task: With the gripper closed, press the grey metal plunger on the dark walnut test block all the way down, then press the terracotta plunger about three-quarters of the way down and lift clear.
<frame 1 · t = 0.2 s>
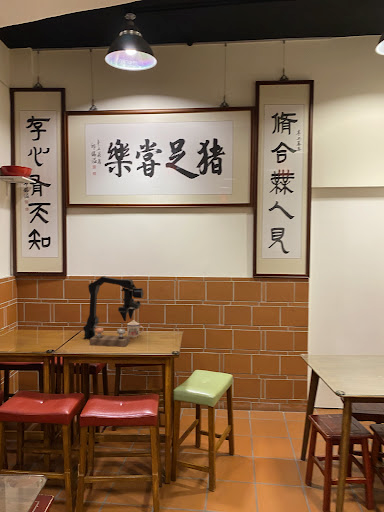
hand: (127, 319, 275), 14 cm above the table, tool pointing down, fingers open, 9 cm apart
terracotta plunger: (99, 333, 266), point 7 cm above the table, slide at 0.0 cm
press block: (110, 343, 266), on the table
grey plunger: (121, 334, 265), point 7 cm above the table, slide at 0.0 cm
teacup with lid: (135, 336, 288), on the table
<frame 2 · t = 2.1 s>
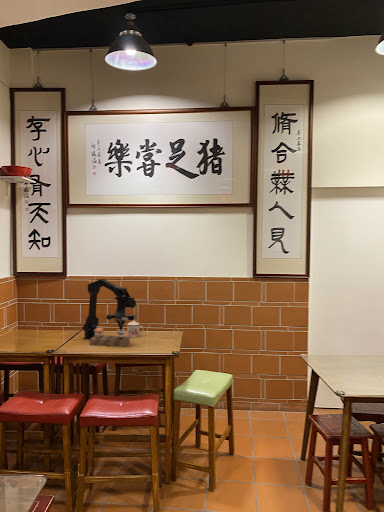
hand: (121, 329, 264), 10 cm above the table, tool pointing down, fingers closed, pressing on grey plunger
grey plunger: (121, 334, 265), point 6 cm above the table, slide at 0.3 cm, touching gripper
everything else where it was.
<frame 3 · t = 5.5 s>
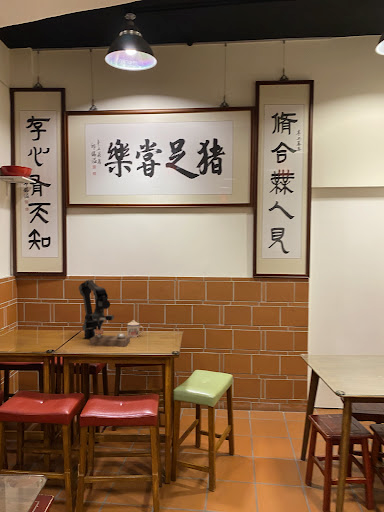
hand: (99, 329, 266), 9 cm above the table, tool pointing down, fingers closed, pressing on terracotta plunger
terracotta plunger: (99, 334, 266), point 6 cm above the table, slide at 1.0 cm, touching gripper
grey plunger: (120, 339, 265), point 3 cm above the table, slide at 3.3 cm
everything else where it was.
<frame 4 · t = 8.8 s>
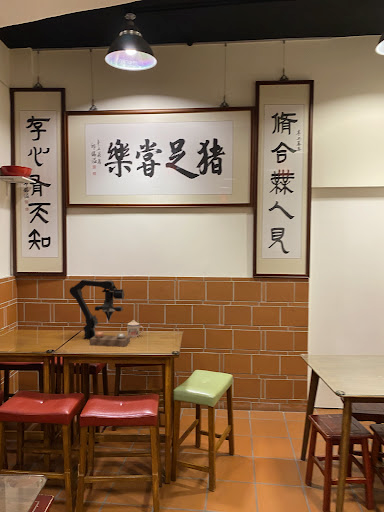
hand: (108, 320, 278), 13 cm above the table, tool pointing down, fingers closed
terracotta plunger: (99, 337, 266), point 4 cm above the table, slide at 2.6 cm
everything else where it was.
at the end: grey plunger slide at 3.3 cm; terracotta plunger slide at 2.6 cm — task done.
